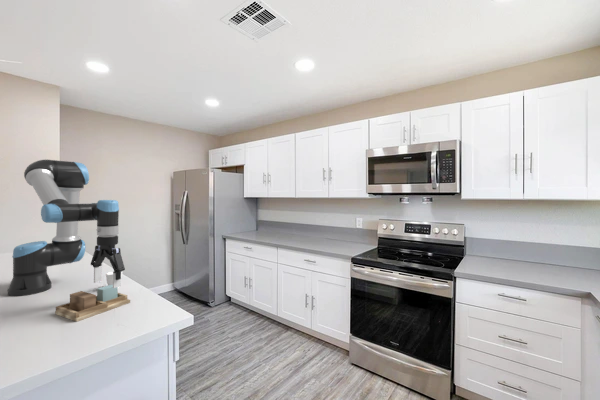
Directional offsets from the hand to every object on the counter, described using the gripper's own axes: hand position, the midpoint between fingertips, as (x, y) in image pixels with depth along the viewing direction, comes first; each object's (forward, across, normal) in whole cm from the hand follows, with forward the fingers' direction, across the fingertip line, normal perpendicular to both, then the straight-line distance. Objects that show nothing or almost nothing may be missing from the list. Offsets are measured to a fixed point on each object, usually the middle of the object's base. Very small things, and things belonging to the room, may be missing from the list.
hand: (107, 284), depth 116 cm
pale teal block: (+7, +1, 0) cm, 7 cm away
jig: (+8, +1, -5) cm, 9 cm away
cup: (+9, -18, +13) cm, 24 cm away
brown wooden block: (+7, +1, -10) cm, 12 cm away
